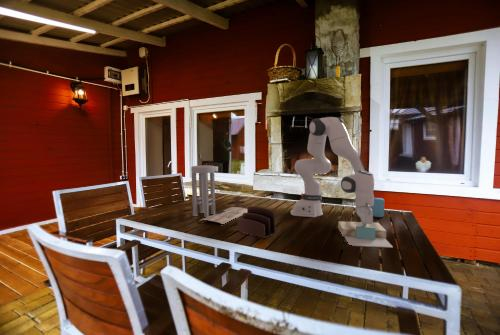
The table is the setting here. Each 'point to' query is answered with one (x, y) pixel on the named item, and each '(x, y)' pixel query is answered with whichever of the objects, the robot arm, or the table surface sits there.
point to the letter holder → (257, 222)
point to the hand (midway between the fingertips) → (363, 227)
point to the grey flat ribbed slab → (226, 215)
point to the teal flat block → (365, 232)
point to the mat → (368, 242)
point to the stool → (203, 189)
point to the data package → (378, 207)
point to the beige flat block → (350, 227)
